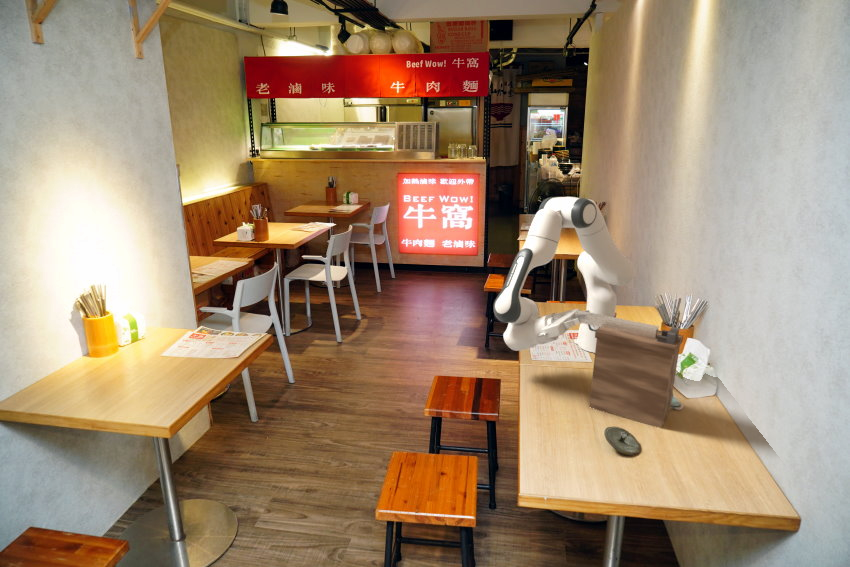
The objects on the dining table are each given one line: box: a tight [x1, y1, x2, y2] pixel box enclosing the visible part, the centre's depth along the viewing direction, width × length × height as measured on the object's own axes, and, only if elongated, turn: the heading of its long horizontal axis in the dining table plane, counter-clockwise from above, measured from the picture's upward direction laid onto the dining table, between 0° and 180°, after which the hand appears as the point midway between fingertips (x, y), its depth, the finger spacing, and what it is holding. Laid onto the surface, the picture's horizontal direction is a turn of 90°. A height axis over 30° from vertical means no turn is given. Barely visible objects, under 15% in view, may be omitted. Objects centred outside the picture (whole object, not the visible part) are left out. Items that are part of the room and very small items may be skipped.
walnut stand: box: [588, 326, 684, 429], centre depth 180 cm, size 13×23×29 cm, turn 57°
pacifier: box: [670, 392, 684, 411], centre depth 187 cm, size 7×6×6 cm
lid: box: [603, 426, 641, 457], centre depth 163 cm, size 11×10×5 cm
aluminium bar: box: [575, 309, 660, 338], centre depth 180 cm, size 3×25×3 cm, turn 57°
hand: (584, 316), depth 185 cm, fingers open, 8 cm apart
